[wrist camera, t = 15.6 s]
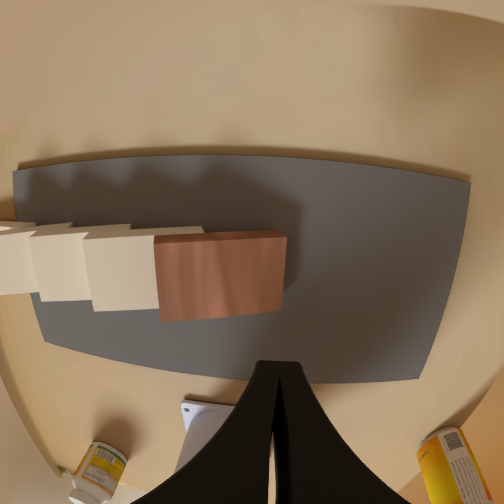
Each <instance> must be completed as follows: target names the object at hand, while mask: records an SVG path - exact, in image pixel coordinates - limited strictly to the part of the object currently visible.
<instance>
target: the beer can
mask: <svg viewBox="0 0 504 504" xmlns="http://www.w3.org/2000/svg"><path fill="white" fill-rule="evenodd" d="M417 459H418V462H419V465H420V468H421V471H422V474H423V478H424V481H425V484H426V488H427V491H428V494H429V498H430V501H431V504H494V503H493V500H492V497H491V495H490V492H489V490H488V487H487V485H486V482H485V480H484V478H483V475H482V473H481V470H480V468H479V466H478V464H477V461H476V459H475V457H474V455H473V453H472V450H471V448H470V446H469V444H468V442H467V440H466V438H465V436H464V434H463V432H462V430H461V429H458V428H455V427H446V428H442V429H440V430H438V431H436V432H434V433H433V434H431V435H430V436H428V437H427V438H426V439H425V440H424V441H423V442H422V443H421V444H420V446H419V450H418V452H417Z"/></svg>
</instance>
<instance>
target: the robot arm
mask: <svg viewBox="0 0 504 504" xmlns="http://www.w3.org/2000/svg"><path fill="white" fill-rule="evenodd" d="M187 408H188V409H187ZM181 409H182V414H183V420H184V425H185V430H186V437H185V440H184V443H183V446H182V449H181V453H180V456H179V459H178V462H177V465H176V469H175V472H174V474H173V475H172V476H171V477H169V478H168V479H167V480H166V481H164V482H163V483H162V484H160V485H159V486H157V487H156V488H155V489H153V490H152V491H150V492H149V493H147V494H146V495H144V496H142V497H141V498H139V499H137V500H136V501H134V502H132V503H130V504H268V485H269V459H270V444H271V438H272V432H273V441H274V459H275V477H276V501H275V504H411V503H409V502H408V501H407V500H405V499H404V498H402V497H401V496H400V495H399V494H397V493H396V492H395V491H393V490H392V489H391V488H390V487H388V486H387V485H386V484H385V483H384V482H383V481H382V480H381V479H380V478H378V477H377V476H376V475H375V474H374V473H373V472H372V471H371V470H370V469H369V468H368V467H367V466H366V465H365V464H364V463H363V462H362V461H361V460H360V459H359V458H358V457H357V455H356V454H355V453H354V452H353V451H352V450H351V448H350V447H349V446H348V445H347V444H346V442H345V441H344V440H343V439H342V437H341V436H340V434H339V433H338V432H337V430H336V429H335V427H334V426H333V424H332V423H331V422H330V420H329V418H328V417H327V415H326V414H325V412H324V410H323V409H322V407H321V405H320V404H319V402H318V400H317V398H316V396H315V395H314V393H313V391H312V389H311V387H310V385H309V383H308V380H307V378H306V376H305V374H304V371H303V368H302V365H301V364H300V363H299V362H294V361H272V360H259V361H257V362H256V365H255V369H254V372H253V374H252V377H251V379H250V381H249V383H248V385H247V387H246V389H245V391H244V392H243V394H242V396H241V398H240V399H239V401H238V403H237V404H236V406H229V405H220V404H212V403H204V402H197V401H190V400H183V401H182V402H181Z"/></svg>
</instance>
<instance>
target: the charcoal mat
mask: <svg viewBox="0 0 504 504" xmlns="http://www.w3.org/2000/svg"><path fill="white" fill-rule="evenodd" d="M470 184H471V183H469V182H465V181H460V180H456V179H451V178H446V177H441V176H436V175H430V174H425V173H419V172H413V171H407V170H401V169H394V168H387V167H380V166H373V165H365V164H357V163H348V162H338V161H328V160H317V159H304V158H290V157H272V156H248V155H169V156H144V157H127V158H113V159H101V160H90V161H81V162H72V163H63V164H56V165H48V166H41V167H35V168H28V169H22V170H16V171H13V189H14V201H15V211H16V220H17V222H33V223H36V226H42V225H51V224H60V223H69V222H73V228H75V227H88V226H101V225H116V224H131V226H132V229H149V228H168V227H189V226H202V228H203V230H204V233H212V232H235V231H259V230H277V231H279V232H280V233H282V234H283V235H284V236H286V237H287V243H286V257H285V270H284V283H283V295H282V306H281V311H274V312H266V313H258V314H250V315H241V316H232V317H222V318H212V319H202V320H190V321H178V322H165V323H161V319H160V311H159V309H142V310H122V311H96V312H94V308H93V304H92V300H77V301H46V302H41V298H40V294H39V292H34V293H30V294H31V298H32V302H33V306H34V309H35V313H36V316H37V319H38V323H39V326H40V329H41V332H42V335H43V338H44V341H45V342H48V343H51V344H54V345H58V346H61V347H64V348H68V349H72V350H75V351H79V352H83V353H86V354H90V355H94V356H98V357H102V358H107V359H111V360H115V361H120V362H125V363H129V364H134V365H139V366H145V367H150V368H156V369H161V370H167V371H173V372H180V373H187V374H194V375H201V376H210V377H218V378H228V379H238V380H250V379H251V377H252V374H253V372H254V369H255V365H256V362H257V361H259V360H272V361H294V362H299V363H300V364H301V365H302V368H303V371H304V374H305V376H306V378H307V380H308V383H368V382H386V381H399V380H411V379H419V377H420V374H421V372H422V370H423V367H424V365H425V363H426V360H427V358H428V355H429V353H430V350H431V347H432V345H433V342H434V339H435V337H436V334H437V331H438V328H439V325H440V322H441V319H442V316H443V313H444V310H445V307H446V303H447V300H448V296H449V293H450V289H451V286H452V282H453V278H454V274H455V270H456V266H457V262H458V257H459V253H460V248H461V243H462V238H463V233H464V227H465V221H466V215H467V208H468V201H469V193H470Z"/></svg>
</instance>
